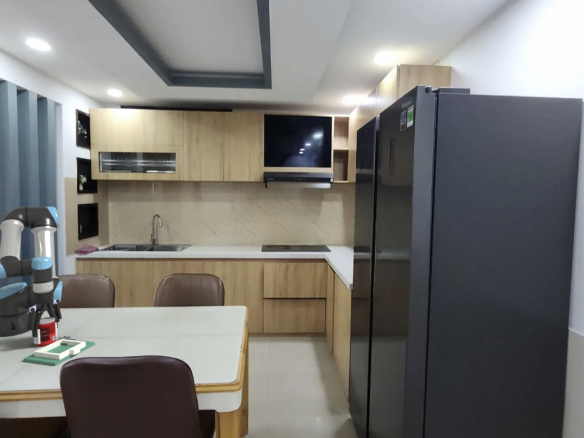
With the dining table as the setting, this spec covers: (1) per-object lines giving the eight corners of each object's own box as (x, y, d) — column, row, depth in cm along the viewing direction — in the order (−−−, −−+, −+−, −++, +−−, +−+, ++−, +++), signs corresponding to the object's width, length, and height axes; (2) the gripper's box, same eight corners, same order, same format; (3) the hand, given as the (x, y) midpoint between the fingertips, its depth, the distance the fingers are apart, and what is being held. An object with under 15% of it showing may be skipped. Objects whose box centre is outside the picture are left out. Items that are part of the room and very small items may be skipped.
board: (23, 361, 141) (23, 353, 141) (66, 341, 161) (65, 334, 160) (58, 366, 137) (57, 358, 137) (97, 345, 157) (97, 338, 156)
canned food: (53, 338, 164) (51, 315, 163) (58, 342, 159) (57, 319, 158) (33, 343, 158) (32, 320, 157) (38, 348, 153) (37, 324, 152)
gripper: (27, 298, 146) (30, 350, 147) (69, 285, 166) (71, 331, 167) (13, 296, 148) (16, 348, 149) (57, 284, 168) (59, 330, 169)
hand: (45, 339), depth 158 cm, fingers closed on canned food, 8 cm apart
